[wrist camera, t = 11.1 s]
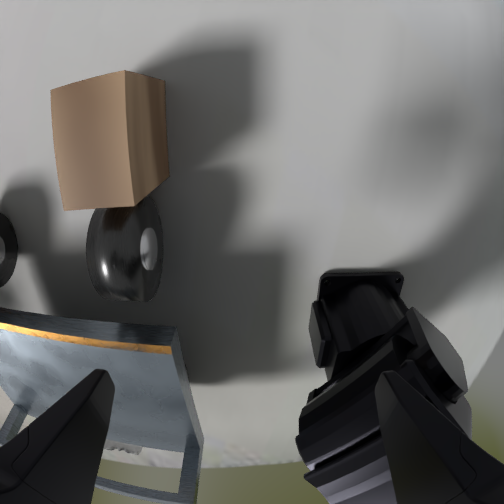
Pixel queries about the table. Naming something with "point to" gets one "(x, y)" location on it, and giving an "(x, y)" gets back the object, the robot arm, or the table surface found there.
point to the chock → (109, 139)
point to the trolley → (107, 350)
